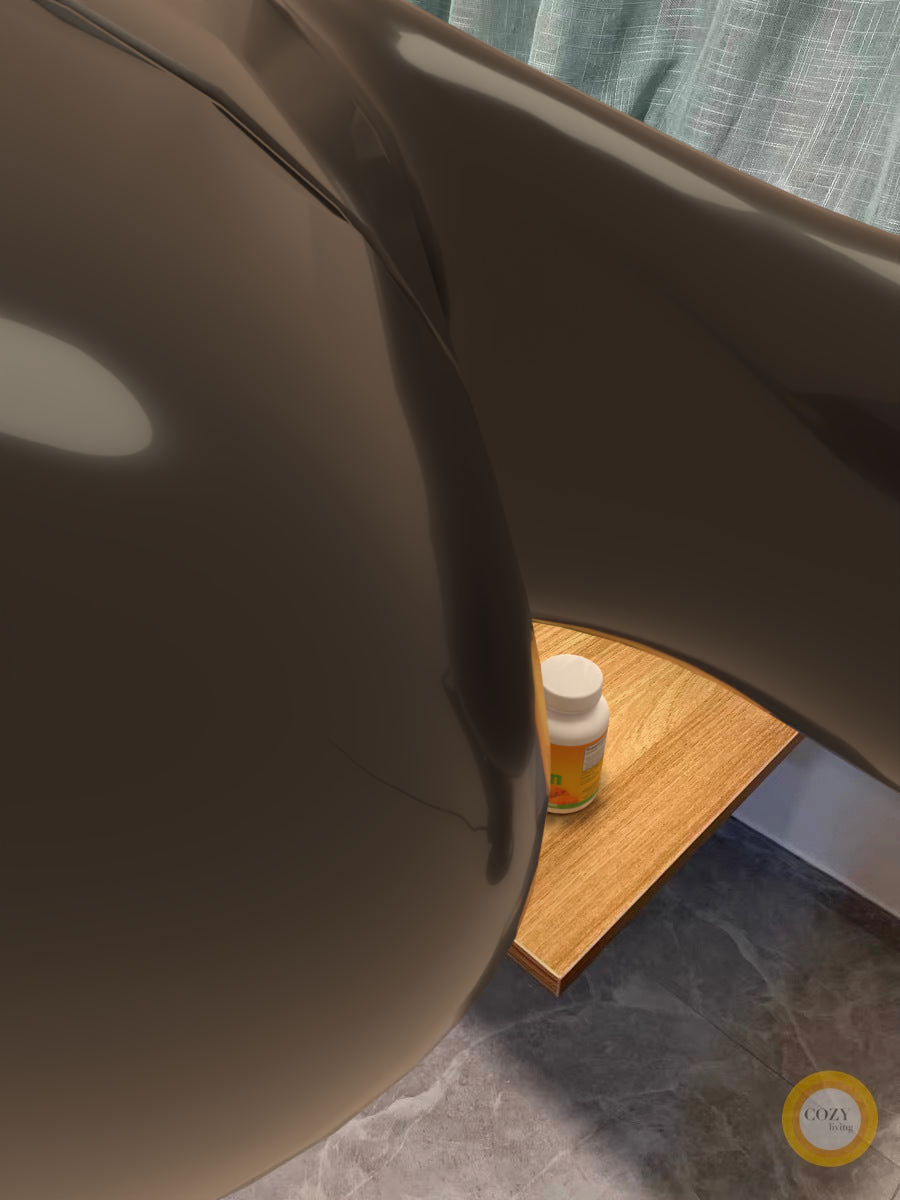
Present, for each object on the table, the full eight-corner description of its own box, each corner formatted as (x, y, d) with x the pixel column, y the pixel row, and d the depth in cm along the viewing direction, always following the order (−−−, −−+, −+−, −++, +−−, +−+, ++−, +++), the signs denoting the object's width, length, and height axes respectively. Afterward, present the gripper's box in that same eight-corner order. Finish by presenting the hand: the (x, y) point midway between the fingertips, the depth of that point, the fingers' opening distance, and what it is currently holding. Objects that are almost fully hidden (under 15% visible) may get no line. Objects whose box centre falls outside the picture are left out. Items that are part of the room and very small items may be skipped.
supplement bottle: (500, 785, 59) (506, 676, 53) (550, 743, 62) (561, 635, 56) (566, 830, 56) (579, 719, 50) (614, 782, 59) (632, 673, 53)
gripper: (254, 975, 28) (565, 712, 37) (35, 748, 35) (340, 579, 45) (279, 1089, 32) (551, 828, 42) (79, 866, 40) (348, 689, 50)
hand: (441, 699), depth 43 cm, fingers open, 8 cm apart
